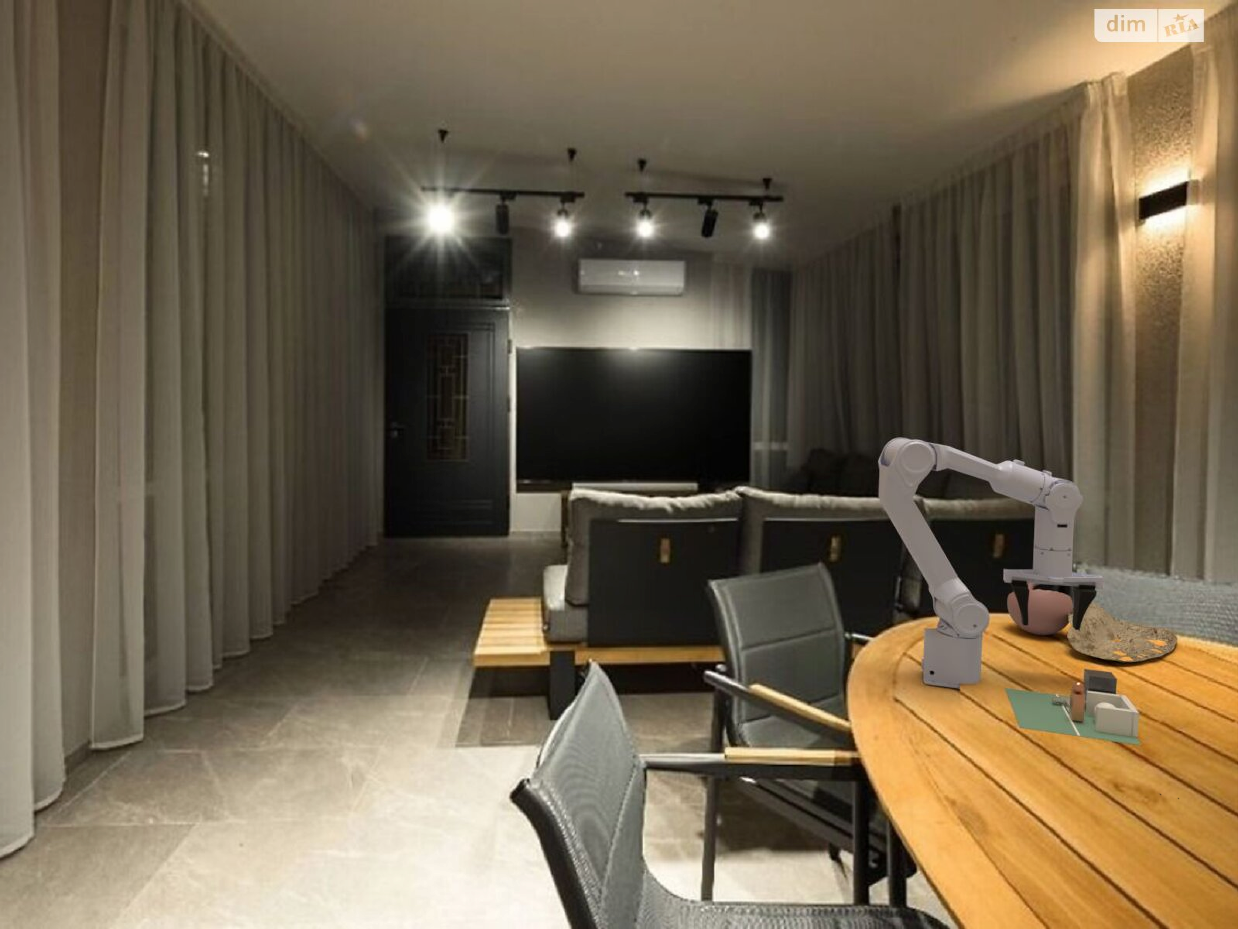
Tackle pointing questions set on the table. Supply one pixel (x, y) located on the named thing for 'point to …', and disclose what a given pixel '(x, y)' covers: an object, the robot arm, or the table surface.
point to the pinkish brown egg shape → (1042, 611)
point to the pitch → (1055, 717)
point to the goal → (1113, 714)
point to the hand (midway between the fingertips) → (1050, 626)
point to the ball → (1103, 705)
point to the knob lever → (1078, 693)
